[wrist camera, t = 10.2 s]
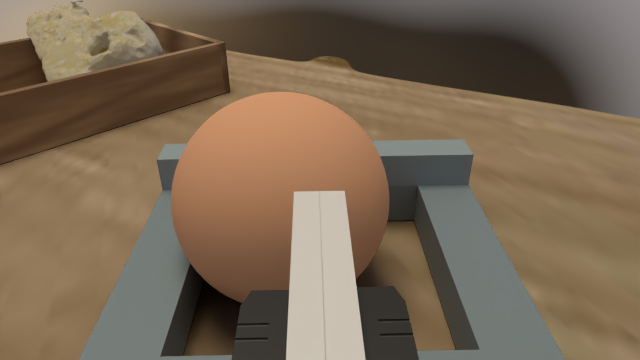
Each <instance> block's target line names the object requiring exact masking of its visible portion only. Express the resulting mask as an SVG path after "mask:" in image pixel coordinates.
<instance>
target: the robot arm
mask: <svg viewBox="0 0 640 360" xmlns="http://www.w3.org/2000/svg"><path fill="white" fill-rule="evenodd" d="M237 324H238V326H237V329H236V336H235V342H234V348H233V354H232V360H419V357H418V353H417V349H416V345H415V340H414V337H413V332H412V328H411V324H410V322H409V315H408V311H407V307H406V303H405V300H404V299H403V298H402V297H401V295H400V294H399V293H398V292H397V290H396V289H395V288H394V287H393V286H389V287H357V286H356V278H355V270H354V262H353V254H352V246H351V238H350V230H349V222H348V214H347V205H346V197H345V191H300V192H294V202H293V223H292V244H291V265H290V285H289V290H251V292H250V293H249V294H248V296H247V297H246V299H245V300H244V302H243V303H242V304H241V306H240V311H239V317H238V323H237Z"/></svg>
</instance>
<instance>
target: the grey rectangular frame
mask: <svg viewBox="0 0 640 360" xmlns="http://www.w3.org/2000/svg"><path fill="white" fill-rule="evenodd" d="M372 142H373V144H374V146H375V147H376V149H377V151H378V153H379V155H380V157H381V160H382V163H383V166H384V168H385V172H386V177H387V181H388V187H389V199H390V200H389V215H388V220H387V221H396V220H414V222H415V225H416V228H417V231H418V234H419V237H420V241H421V244H422V247H423V250H424V253H425V256H426V259H427V262H428V265H429V268H430V271H431V274H432V277H433V280H434V284H435V287H436V290H437V293H438V296H439V299H440V302H441V305H442V308H443V311H444V314H445V317H446V320H447V323H448V327H449V330H450V333H451V336H452V339H453V342H454V345H455V348H456V350H439V351H417V353H418V357H419V360H565V358H564V357H563V355H562V353H561V351H560V349H559V347H558V346H557V344H556V342H555V340H554V338H553V337H552V335H551V333H550V331H549V329H548V328H547V326H546V324H545V322H544V320H543V319H542V317H541V315H540V313H539V311H538V310H537V308H536V306H535V304H534V302H533V301H532V299H531V297H530V295H529V293H528V292H527V290H526V288H525V286H524V284H523V282H522V281H521V279H520V277H519V275H518V273H517V272H516V270H515V268H514V266H513V264H512V263H511V261H510V259H509V257H508V255H507V254H506V252H505V250H504V248H503V246H502V245H501V243H500V241H499V239H498V237H497V236H496V234H495V232H494V230H493V228H492V227H491V225H490V223H489V221H488V219H487V218H486V216H485V214H484V212H483V210H482V208H481V207H480V205H479V203H478V201H477V199H476V198H475V196H474V194H473V192H472V190H471V189H470V187H469V185H468V183H469V178H470V172H471V166H472V160H473V153H472V152H471V150H470V148H469V147H468V145H467V144H466V142H465V141H464V139H456V140H391V141H372ZM186 145H187V144H165V146H164V148H163V149H162V151H161V153H160V155H159V156H158V158H157V164H158V169H159V174H160V179H161V184H162V189H163V190H162V192H161V194H160V196H159V198H158V200H157V202H156V204H155V206H154V208H153V210H152V212H151V214H150V216H149V218H148V220H147V223H146V225H145V227H144V229H143V231H142V233H141V235H140V237H139V239H138V241H137V243H136V245H135V247H134V249H133V251H132V253H131V255H130V257H129V259H128V261H127V263H126V265H125V267H124V269H123V271H122V273H121V275H120V277H119V279H118V281H117V283H116V285H115V287H114V289H113V291H112V293H111V295H110V297H109V299H108V301H107V303H106V305H105V307H104V309H103V311H102V313H101V315H100V317H99V319H98V321H97V323H96V325H95V327H94V329H93V332H92V334H91V336H90V338H89V340H88V342H87V344H86V346H85V348H84V350H83V352H82V354H81V356H80V358H79V360H232V355H209V356H183V353H184V349H185V346H186V342H187V338H188V335H189V331H190V327H191V324H192V320H193V316H194V313H195V309H196V306H197V302H198V298H199V295H200V291H201V287H202V284H203V280H204V279H203V278H202V277H201V276H200V274H199V273H198V272H197V271H196V270H195V269H194V267H193V266H192V265H191V263H190V262H189V260H188V259H187V257H186V255H185V253H184V251H183V249H182V247H181V245H180V243H179V241H178V238H177V235H176V232H175V229H174V225H173V219H172V210H171V191H172V182H173V178H174V174H175V170H176V167H177V164H178V162H179V159H180V157H181V154H182V152H183V151H184V149H185V147H186Z"/></svg>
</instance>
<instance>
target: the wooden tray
mask: <svg viewBox="0 0 640 360" xmlns="http://www.w3.org/2000/svg"><path fill="white" fill-rule="evenodd" d="M140 19H141V20H142V21H144V22H145V23H146V24H147V25H148V26H149V28H150V29H151V30H152V31H153V32H154V33H155V35H156V37H157V38H158V40H159V42H160V45H161V47H162V49H163V51H164V53H165V54H164V55H160V56H156V57H151V58H147V59H143V60H139V61H134V62H130V63H126V64H121V65H117V66H113V67H109V68H104V69H100V70H96V71H92V72H87V73H83V74H79V75H74V76H70V77H66V78H62V79H57V80H53V81H49V82H48V81H47V80H46V75H45V73H44V71H43V69H42V60H40V59H39V57H38V54H37V53H36V51H35V46H34V45H33V43H32V40H31V38H26V39H19V40H14V41H8V42H3V43H0V164H3V163H6V162H9V161H12V160H15V159H19V158H22V157H25V156H28V155H31V154H34V153H37V152H41V151H44V150H47V149H50V148H53V147H56V146H59V145H63V144H66V143H69V142H72V141H75V140H78V139H82V138H85V137H88V136H91V135H94V134H97V133H100V132H104V131H107V130H110V129H113V128H116V127H119V126H123V125H126V124H129V123H132V122H135V121H138V120H141V119H145V118H148V117H151V116H154V115H157V114H160V113H164V112H167V111H170V110H173V109H176V108H179V107H182V106H186V105H189V104H192V103H195V102H198V101H201V100H204V99H208V98H211V97H214V96H217V95H220V94H223V93H227V92H230V85H229V75H228V66H227V56H226V47H225V42H221V41H218V40H215V39H211V38H208V37H204V36H201V35H197V34H194V33H190V32H187V31H184V30H180V29H177V28H174V27H170V26H166V25H163V24H160V23H156V22H153V21H149V20H146V19H142V18H140Z"/></svg>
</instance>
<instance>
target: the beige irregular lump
mask: <svg viewBox="0 0 640 360" xmlns="http://www.w3.org/2000/svg"><path fill="white" fill-rule="evenodd" d="M77 1H78V2H83V0H74V1H71V3H72V4H71V5H68V6H62V5H60V4H56V5H55V6H54V8H53V9H52V10H48V11H40V12H37V13H35V14H33V15H32V16H30V17H29V18H28V19H27V34H28V36H29V37H30V38H31V40H32V43H33V45H34V46H35V51H36V53H37V54H38V57H39V59H40V60H42V69H43V71H44V73H45V75H46V80H47V81H48V82H49V81H53V80H57V79H62V78H66V77H70V76H74V75H79V74H83V73H87V72H92V71H96V70H100V69H104V68H109V67H113V66H117V65H121V64H126V63H130V62H134V61H139V60H143V59H147V58H151V57H156V56H160V55H164V54H165V53H164V51H163V49H162V47H161V45H160V42H159V40H158V38H157V37H156V35H155V33H154V32H153V31H152V30H151V29H150V28H149V26H148V25H147V24H146V23H145V22H144V21H142V20H141V19H140V17H139V16H138V15H137V14H136V13H134V12H130V11H118V12H115V13H111V14H109V15H106V16H104V17H99V18H92V17H90V16H89V13H88V11H87V10H86V9H85V8H84V7H83V6H81V5H80V4H79V3H77Z"/></svg>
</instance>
